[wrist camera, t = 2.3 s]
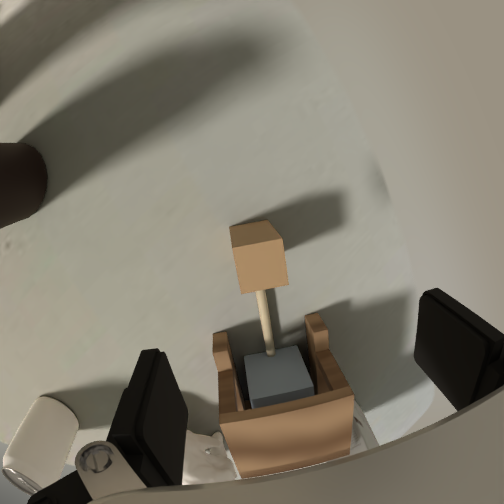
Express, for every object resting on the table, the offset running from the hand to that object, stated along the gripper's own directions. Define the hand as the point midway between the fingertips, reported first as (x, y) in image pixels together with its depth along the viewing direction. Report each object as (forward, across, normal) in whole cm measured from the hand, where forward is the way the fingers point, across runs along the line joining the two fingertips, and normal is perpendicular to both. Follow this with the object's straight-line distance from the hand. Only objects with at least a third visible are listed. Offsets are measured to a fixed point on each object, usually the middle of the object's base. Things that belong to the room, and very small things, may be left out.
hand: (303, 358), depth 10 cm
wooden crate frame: (+15, 0, +12) cm, 20 cm away
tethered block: (+15, 0, +7) cm, 17 cm away
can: (+15, +27, +16) cm, 35 cm away
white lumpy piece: (+16, +11, +19) cm, 27 cm away
